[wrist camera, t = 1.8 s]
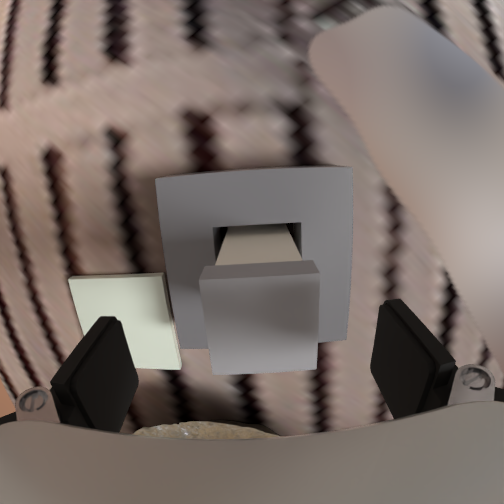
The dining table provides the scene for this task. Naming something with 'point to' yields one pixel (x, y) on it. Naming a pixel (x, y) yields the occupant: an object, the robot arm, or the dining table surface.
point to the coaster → (131, 314)
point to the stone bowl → (208, 430)
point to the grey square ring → (254, 213)
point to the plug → (261, 303)
